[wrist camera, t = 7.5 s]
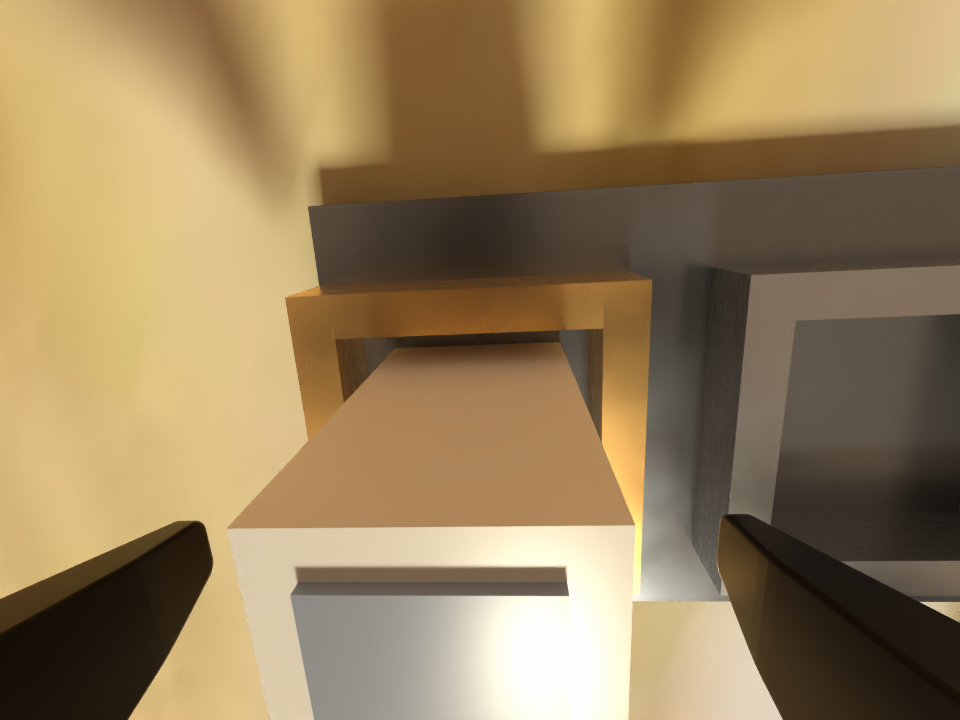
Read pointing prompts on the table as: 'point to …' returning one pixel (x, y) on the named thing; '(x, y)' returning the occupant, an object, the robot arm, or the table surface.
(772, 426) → the panel
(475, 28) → the table surface
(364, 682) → the plug
